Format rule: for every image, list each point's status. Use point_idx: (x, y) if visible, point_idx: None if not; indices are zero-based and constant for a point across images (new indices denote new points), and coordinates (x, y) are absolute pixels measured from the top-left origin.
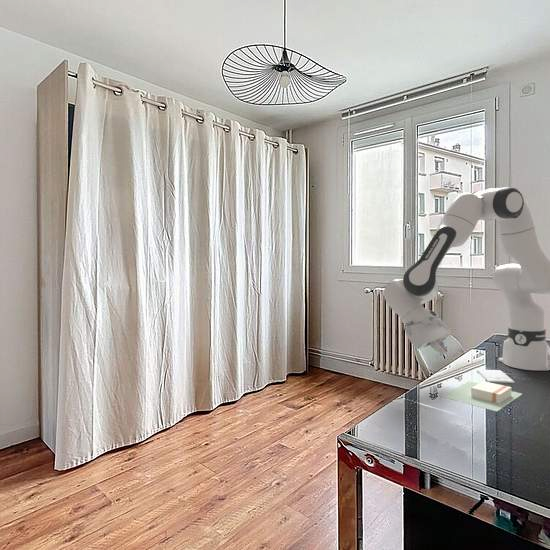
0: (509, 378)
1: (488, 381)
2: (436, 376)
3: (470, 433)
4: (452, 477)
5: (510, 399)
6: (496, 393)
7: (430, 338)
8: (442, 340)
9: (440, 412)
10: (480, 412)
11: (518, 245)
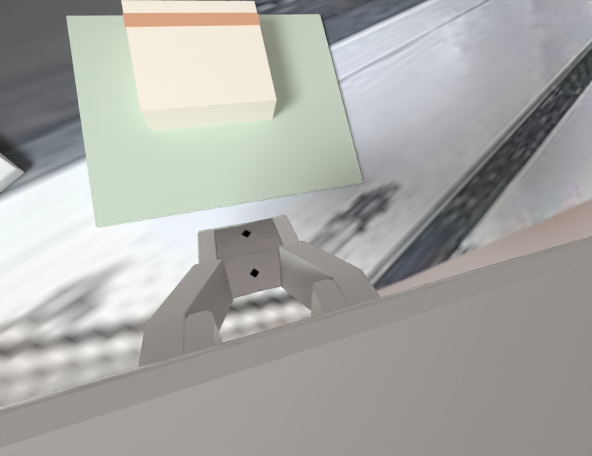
0: None
1: (17, 169)
2: None
3: (469, 14)
4: None
5: None
6: (254, 12)
7: (520, 290)
8: (149, 346)
9: (446, 113)
10: (354, 48)
11: None
